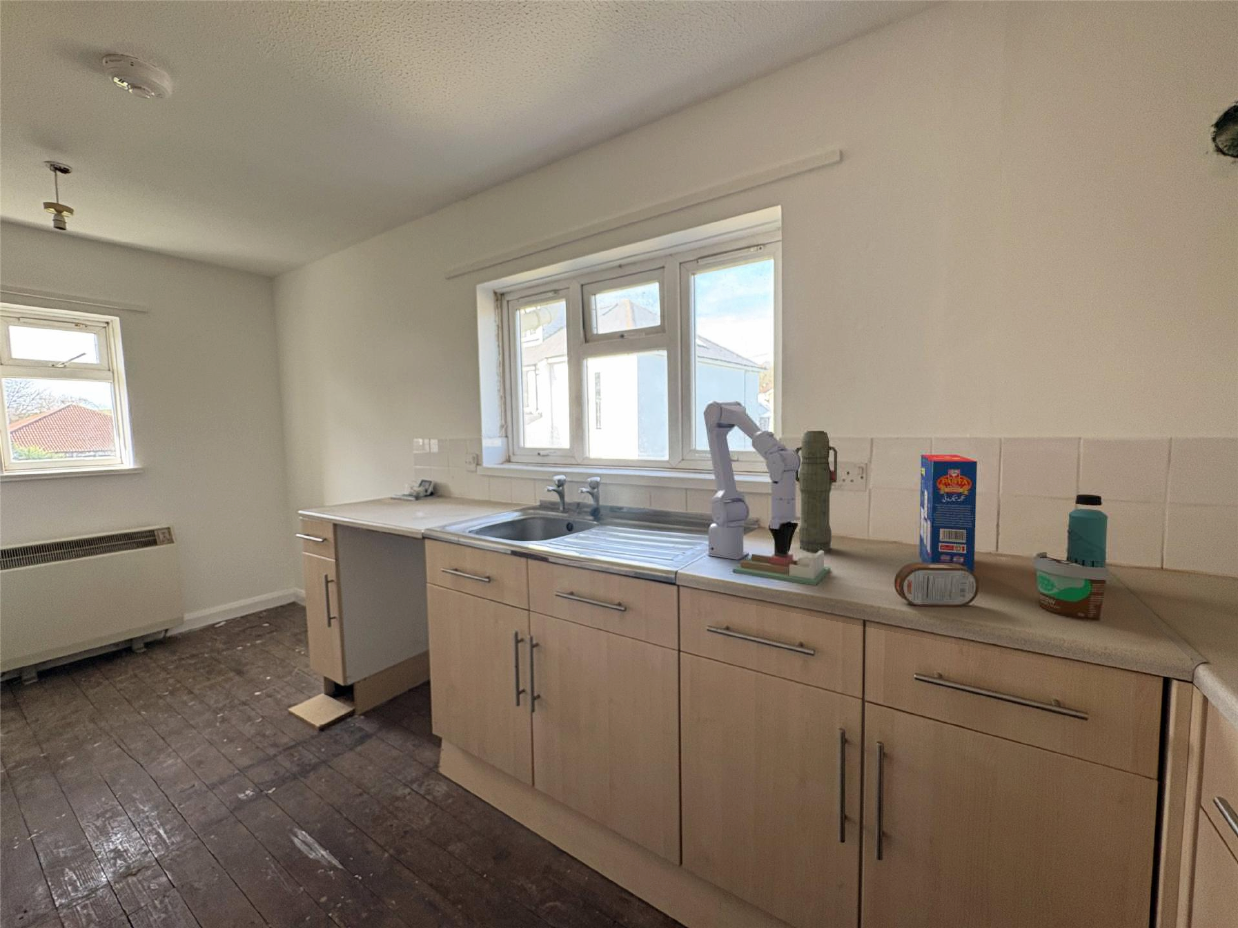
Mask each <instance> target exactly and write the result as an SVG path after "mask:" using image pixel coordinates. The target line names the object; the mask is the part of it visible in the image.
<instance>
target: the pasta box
mask: <svg viewBox="0 0 1238 928" xmlns="http://www.w3.org/2000/svg"><path fill="white" fill-rule="evenodd" d="M977 473H978V461H977V460H975V459H971V458H969V457H965V456H962V455H959V454H920V490H919V491H920V499H919V500H920V501H919V544H918V545H919V548H918V550H919V551H918V553H919V557H920V559H921V560H920V561H921V563H955V564H960V565H962V566H964V567H966V568H967V569H968V570H970V571H971V572H973V573H974V574H975V555H976V554H975V552H976V549H975V548H976V517H977V512H976V511H977V509H976V508H977V483H978V481H977V477H978V474H977Z"/></svg>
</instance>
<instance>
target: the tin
mask: <svg viewBox="0 0 1238 928" xmlns="http://www.w3.org/2000/svg"><path fill="white" fill-rule="evenodd" d="M893 582H894V583H893V585H894V590H895V592H896V594H897V595H898V596H899V598H901V599H903V600H904V601H906V602H907V603H909V604H911V605H912V606H915V607H916V606H917V607H937V608H938V607H939V608H941V607H948V608H956V607H957V608H960V607H966V606H967V605H970V604H971V603H972V602H973V601H974V600H975V599H976V598H977V596H978V593H979V590H980V582H979V578H978V577H977V576H976V575H975V572H974V573H973V572H971V571H970V570H968V569H967V568H966V567H964V566H962V565H960V564H955V563H923V562H912V563H908V564H906V565H904V566H903V567H901V568H900V569H899V570H898V571H897V573H896V575H895V577H894V581H893Z"/></svg>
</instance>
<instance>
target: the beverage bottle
mask: <svg viewBox="0 0 1238 928" xmlns="http://www.w3.org/2000/svg"><path fill="white" fill-rule="evenodd" d="M1075 498H1076V499H1075V504H1076V505H1081V506H1094V507H1095V506H1097V507H1099V506H1100V507H1101V506H1102V505H1103V502H1102V496H1101V495H1097V494H1085V493H1083V494H1082V493H1081V494H1077V495H1076V497H1075ZM1108 519H1109V516H1108V515H1107V514H1105V513H1104V512H1103V511H1102V510H1098V509H1093V508H1092V509H1091V508H1076V509H1075V508H1074V509H1073V510H1072V511H1070V512H1069V513H1068V523H1067V527H1068V529H1067V530H1066V531H1067V536H1066V538H1067V548H1066V557H1065V558H1066V559H1065V561H1072V562H1076V563H1079V564H1081V565H1083V566H1086V567H1097V568H1106V567H1107V566H1106V565H1107V561H1106V560H1107V538H1108V537H1107V533H1108Z"/></svg>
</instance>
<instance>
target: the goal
mask: <svg viewBox="0 0 1238 928" xmlns="http://www.w3.org/2000/svg"><path fill="white" fill-rule="evenodd" d="M801 556H802V555H800V556H799V557H801ZM810 557H811V558H810V559H809V567H806V566H799V565H792V564H790V565H789V575H791V576H797V577H804V578H810V579H814V578H815V577H816V576H817V575H818V574H819V573H820V572H821V571H822V570H823V569H824V567H825V552H824V551H821V550H820V551H819V552H815V554H814V555H812V556H810Z"/></svg>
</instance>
